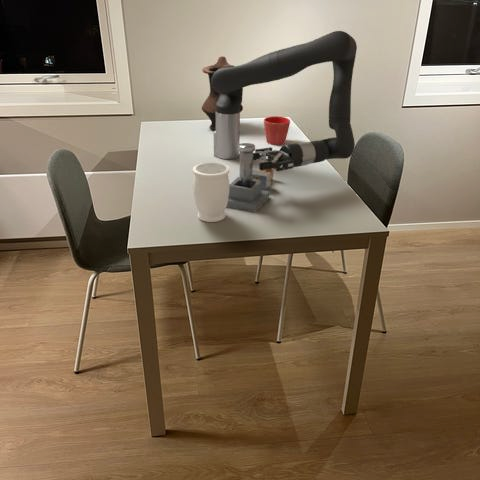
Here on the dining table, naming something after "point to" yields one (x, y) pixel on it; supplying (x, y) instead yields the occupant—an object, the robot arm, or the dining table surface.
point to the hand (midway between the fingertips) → (253, 162)
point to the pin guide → (262, 178)
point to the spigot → (246, 164)
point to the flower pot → (276, 129)
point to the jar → (211, 190)
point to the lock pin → (266, 171)
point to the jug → (213, 92)
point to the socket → (247, 196)
